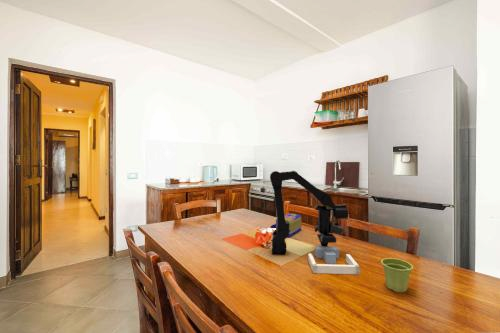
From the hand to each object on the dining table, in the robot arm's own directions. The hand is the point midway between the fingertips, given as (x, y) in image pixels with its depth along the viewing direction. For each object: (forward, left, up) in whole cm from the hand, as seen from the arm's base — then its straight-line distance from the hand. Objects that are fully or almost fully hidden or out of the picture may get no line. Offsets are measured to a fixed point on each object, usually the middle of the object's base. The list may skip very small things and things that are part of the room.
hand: (324, 251), depth 116 cm
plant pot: (+18, -31, -1) cm, 35 cm away
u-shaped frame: (0, -15, -1) cm, 15 cm away
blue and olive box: (-16, +31, -1) cm, 35 cm away
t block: (0, -7, -1) cm, 7 cm away
